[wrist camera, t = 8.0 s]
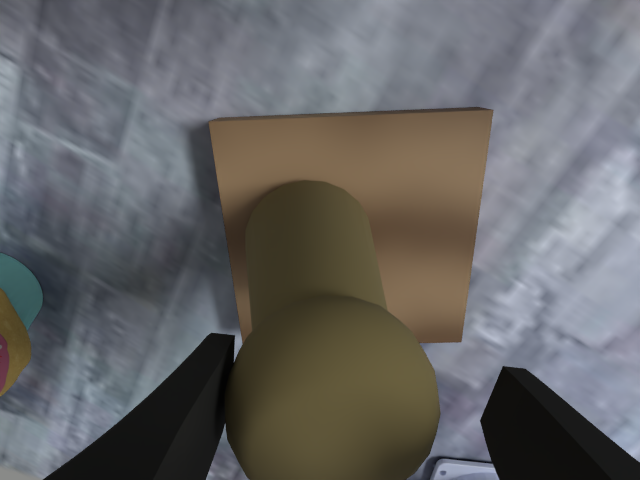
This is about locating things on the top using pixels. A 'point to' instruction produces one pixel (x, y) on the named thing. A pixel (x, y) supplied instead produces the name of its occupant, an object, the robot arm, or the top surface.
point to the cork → (324, 350)
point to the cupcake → (16, 317)
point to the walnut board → (371, 196)
